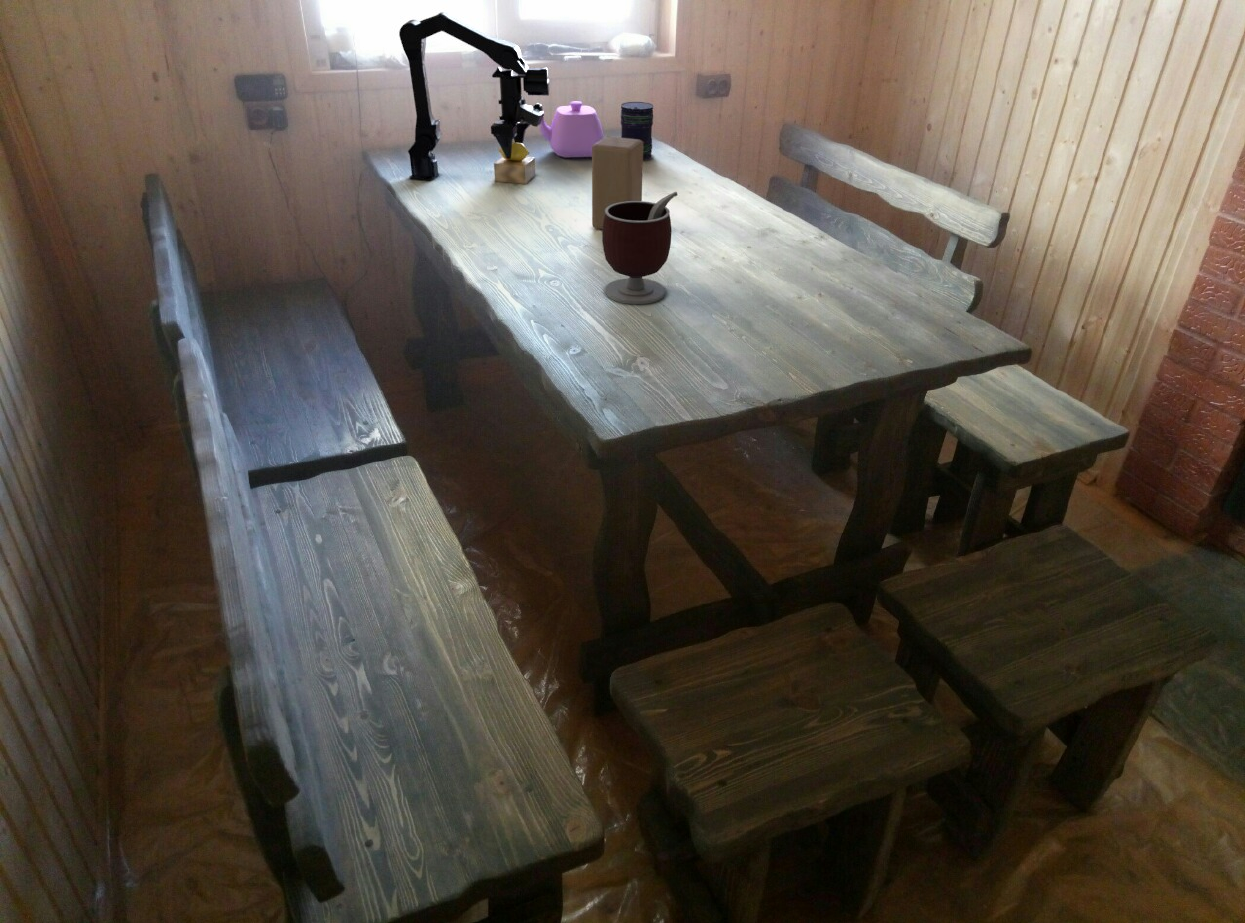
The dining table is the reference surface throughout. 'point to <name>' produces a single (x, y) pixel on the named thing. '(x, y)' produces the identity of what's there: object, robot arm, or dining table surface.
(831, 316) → the dining table surface
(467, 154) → the dining table surface
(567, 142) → the teapot
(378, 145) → the dining table surface
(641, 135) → the storage jar
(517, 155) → the lemon
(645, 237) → the mate gourd
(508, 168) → the maple block
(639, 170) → the block
